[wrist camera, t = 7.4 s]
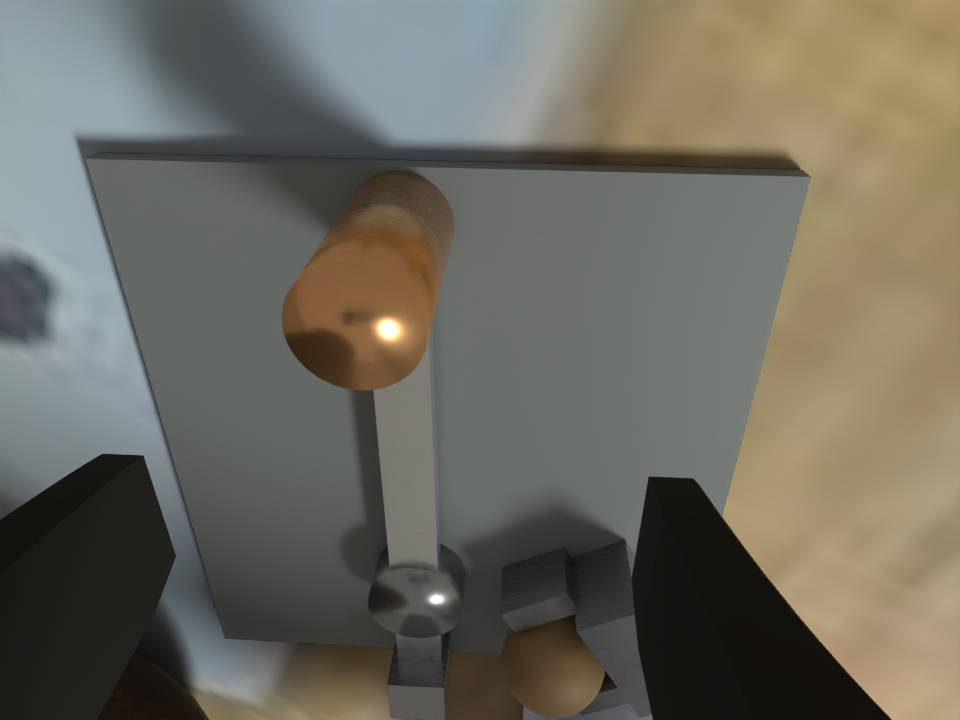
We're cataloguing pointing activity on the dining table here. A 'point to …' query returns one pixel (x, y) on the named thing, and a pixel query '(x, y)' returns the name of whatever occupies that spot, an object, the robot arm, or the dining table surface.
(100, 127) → the dining table surface
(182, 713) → the pottery
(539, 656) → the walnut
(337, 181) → the board
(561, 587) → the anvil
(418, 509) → the lever
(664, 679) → the robot arm
